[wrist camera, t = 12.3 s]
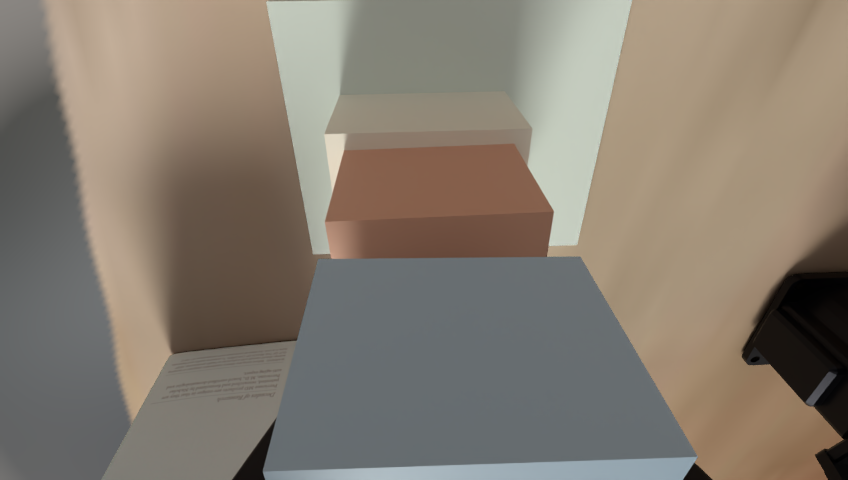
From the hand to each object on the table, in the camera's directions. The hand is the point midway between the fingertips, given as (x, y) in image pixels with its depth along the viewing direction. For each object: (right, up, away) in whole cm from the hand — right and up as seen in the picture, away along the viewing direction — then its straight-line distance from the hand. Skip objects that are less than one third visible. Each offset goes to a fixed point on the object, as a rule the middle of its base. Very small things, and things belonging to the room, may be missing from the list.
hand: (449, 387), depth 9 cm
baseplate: (0, +7, +9) cm, 11 cm away
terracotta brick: (0, +4, +5) cm, 7 cm away
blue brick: (0, +1, +1) cm, 1 cm away
